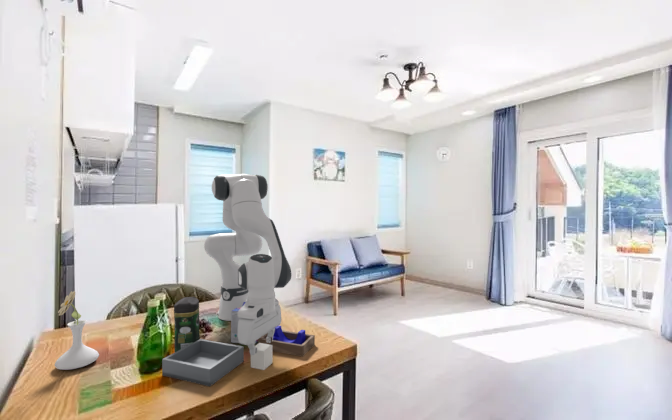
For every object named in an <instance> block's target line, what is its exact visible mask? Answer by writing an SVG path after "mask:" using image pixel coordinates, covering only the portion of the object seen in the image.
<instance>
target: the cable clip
mask: <svg viewBox="0 0 672 420" xmlns="http://www.w3.org/2000/svg"><path fill="white" fill-rule="evenodd" d="M282 331H283V329H282V325H278V326H277V327H275V332H274V336H273V340H276V341H282V342H288V343H294V344H300V345H302V344H303V343H304V342H305V334H306V329H301V330H298V332H297V333H298V335H297V338H296V339H295V340H291V339H289V338H287V337H286V336H285V335H284V334H283V332H282Z"/></svg>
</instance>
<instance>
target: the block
mask: <svg viewBox="0 0 672 420" xmlns="http://www.w3.org/2000/svg"><path fill="white" fill-rule="evenodd" d="M255 347H256V348H257V353H256V354H254V355H251V354H250V368H253V369H255V370H256V369H257V370H261V371H265V370H267V368H269V366H271V364H273V351H272V345H269V344H264V343H258V342H257V343H256V344H255Z"/></svg>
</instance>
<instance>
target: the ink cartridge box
mask: <svg viewBox="0 0 672 420" xmlns="http://www.w3.org/2000/svg"><path fill="white" fill-rule="evenodd" d="M245 303H246V302H243V305H244V304H245ZM243 305H242V306H243ZM239 309H240V307H238V308H236V309H234V310H232V311H231V321H230V343H231V344H232V343H234V344H240V343H239V341H238V322H239V319H240V318H239V317H238V315H237V313H238V311H239ZM257 343H258V340H256V341H255V344H257Z"/></svg>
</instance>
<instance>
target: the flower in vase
mask: <svg viewBox="0 0 672 420" xmlns="http://www.w3.org/2000/svg"><path fill="white" fill-rule="evenodd" d="M75 297H76V291H75V290H73V291H72V290H71V291H70V293H69V294H68V295H67V294H66V296H65V298H64V301H63V302H62V303H61V304H60V307H61V308H59V310H58V311H57V314H58V316H63V315H64V314H65V313H66V312H67V311H68V310H69V308H70V307H71V306H72V309H74V310H73V311H72V313H71V315H70V316H71V317H72V319H74V320H73V321H70V322H68V323H67V327H68V328H70V330H71V334H72V344H71V347H70V348H68V349H67V350H66V351H65V352H63V354H62V355H61V356H59V357H58V358H57V360H55V362H54V367H55V368H56V369H57V370H61V371H62V370H66V371H67V370H75V369H79V368H83V367H85V366H88V365H91V364H92V363H93V362H95V361H97V360H98V359H99V357H100V354H99V351H98V350H96V349H94V348H92V347H90V346H87V345H85V344H84V343H83V340H82V338H83V337H82V335H83V334H82V333H83V329H84V326H85V325H86V323H88V322H87V319H86V320H85V319H81V317H82V315H81V314H80V313H79V312H78V310H77V308H76V307H75V305H74V304H73V302H74V299H75Z"/></svg>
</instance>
